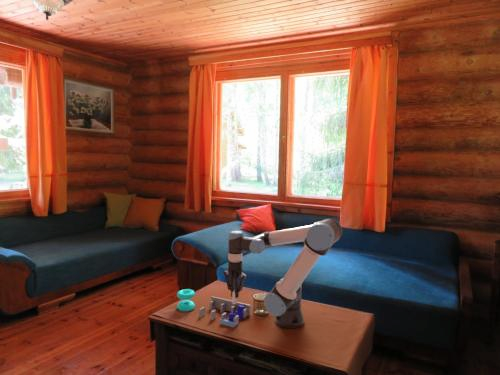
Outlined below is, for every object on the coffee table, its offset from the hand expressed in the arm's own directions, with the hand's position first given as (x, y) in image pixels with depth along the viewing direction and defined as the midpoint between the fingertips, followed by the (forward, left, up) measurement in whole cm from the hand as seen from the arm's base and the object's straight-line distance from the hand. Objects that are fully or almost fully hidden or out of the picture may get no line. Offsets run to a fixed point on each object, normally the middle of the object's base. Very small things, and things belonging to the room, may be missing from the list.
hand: (234, 303), depth 196 cm
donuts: (+31, +2, -9) cm, 32 cm away
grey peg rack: (+7, 0, -9) cm, 11 cm away
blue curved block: (-1, 0, -10) cm, 10 cm away
